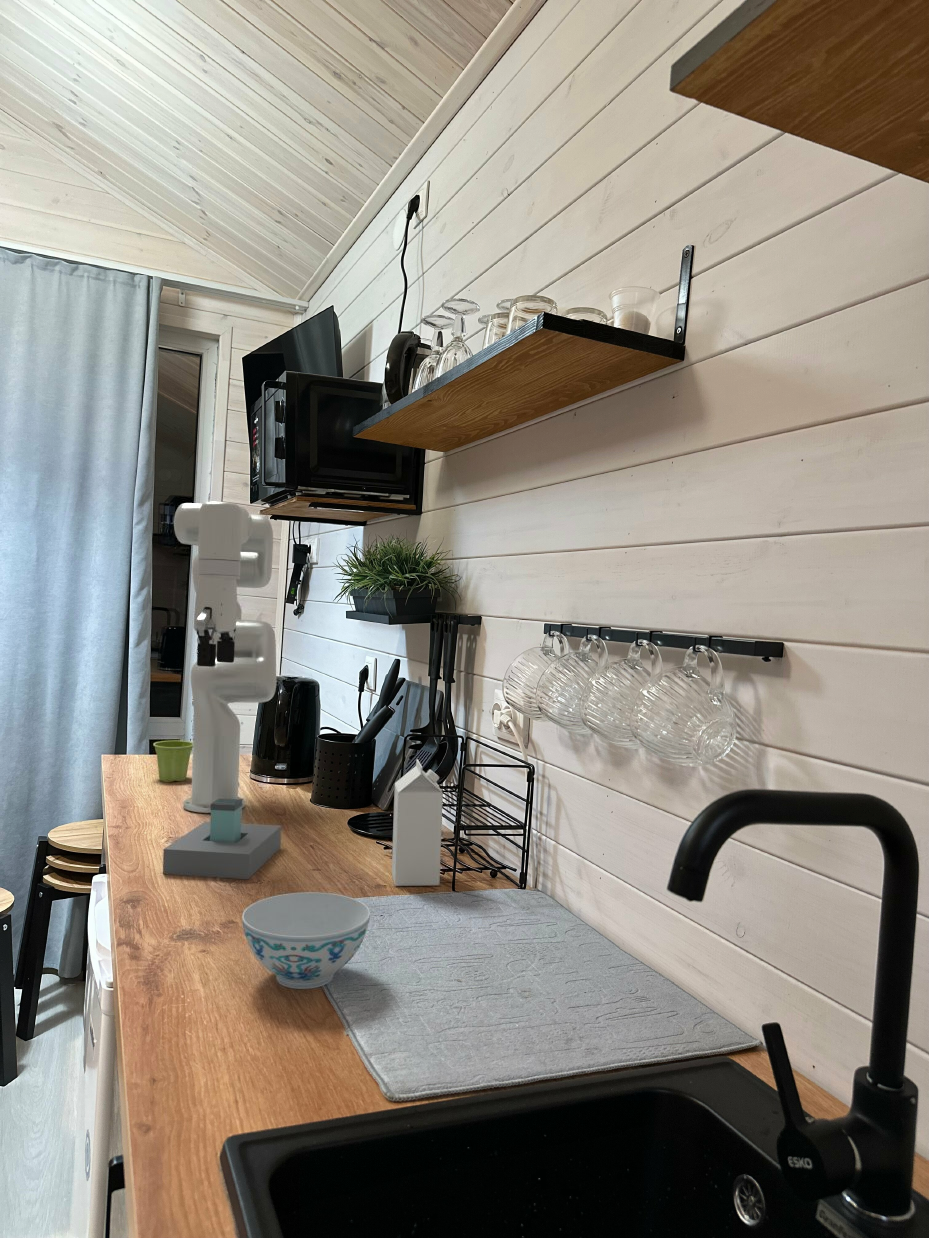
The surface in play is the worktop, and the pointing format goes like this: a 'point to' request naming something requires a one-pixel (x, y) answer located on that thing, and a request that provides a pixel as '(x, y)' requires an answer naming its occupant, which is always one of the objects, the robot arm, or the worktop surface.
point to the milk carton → (417, 829)
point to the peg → (226, 820)
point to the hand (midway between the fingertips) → (216, 664)
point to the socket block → (222, 852)
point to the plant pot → (173, 759)
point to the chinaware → (305, 935)
